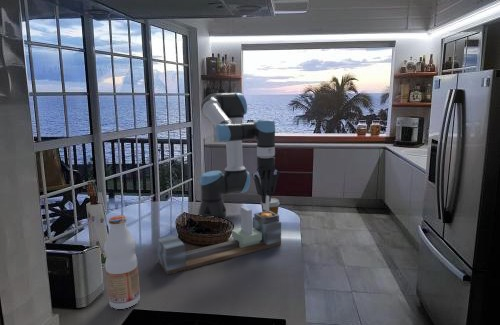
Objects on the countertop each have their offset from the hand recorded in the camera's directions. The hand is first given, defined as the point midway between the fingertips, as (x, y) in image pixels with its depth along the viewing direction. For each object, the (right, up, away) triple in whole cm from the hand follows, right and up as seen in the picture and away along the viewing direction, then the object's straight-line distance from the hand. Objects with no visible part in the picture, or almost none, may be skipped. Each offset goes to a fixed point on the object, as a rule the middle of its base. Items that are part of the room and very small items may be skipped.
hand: (266, 209), depth 157 cm
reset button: (0, -4, 0) cm, 4 cm away
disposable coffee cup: (+3, -10, +24) cm, 27 cm away
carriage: (-8, -14, -3) cm, 16 cm away
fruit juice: (-47, -24, -42) cm, 67 cm away
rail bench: (-18, -17, -8) cm, 26 cm away
